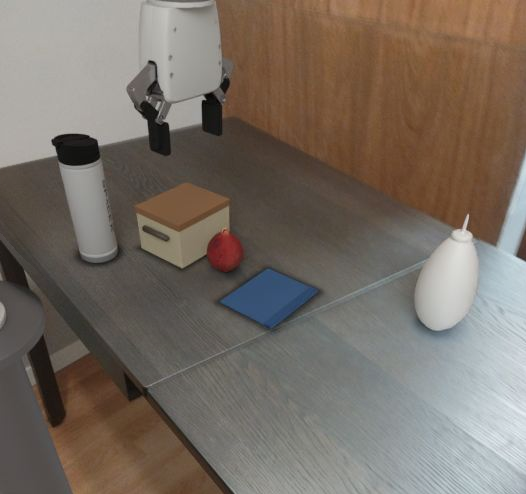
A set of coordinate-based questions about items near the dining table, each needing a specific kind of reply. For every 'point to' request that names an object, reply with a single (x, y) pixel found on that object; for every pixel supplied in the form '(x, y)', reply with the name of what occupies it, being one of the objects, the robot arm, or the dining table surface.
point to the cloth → (269, 297)
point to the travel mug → (87, 196)
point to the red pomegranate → (224, 251)
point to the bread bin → (181, 223)
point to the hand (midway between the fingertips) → (187, 142)
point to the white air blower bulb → (448, 281)
